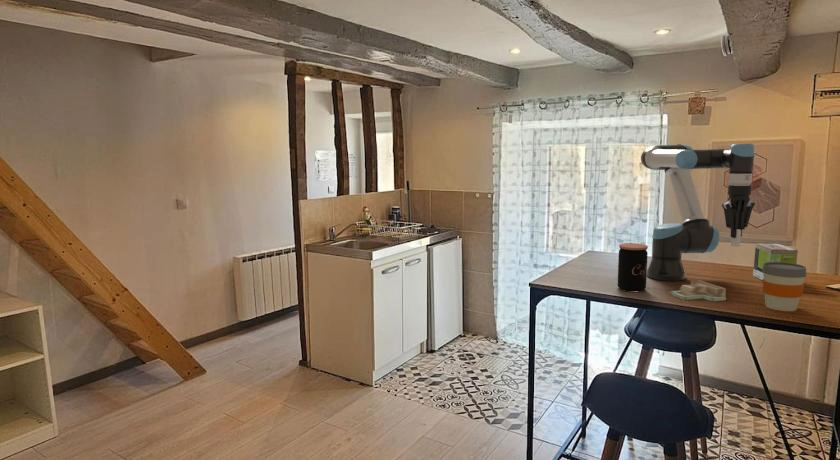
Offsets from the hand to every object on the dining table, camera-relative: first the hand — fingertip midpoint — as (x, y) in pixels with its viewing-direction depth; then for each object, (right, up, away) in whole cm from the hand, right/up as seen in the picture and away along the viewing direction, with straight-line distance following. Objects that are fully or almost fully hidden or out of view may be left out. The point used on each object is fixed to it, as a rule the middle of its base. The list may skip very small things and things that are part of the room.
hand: (735, 245), depth 196 cm
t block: (-15, -19, -1) cm, 24 cm away
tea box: (+27, -15, +19) cm, 37 cm away
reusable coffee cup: (+5, -21, -18) cm, 28 cm away
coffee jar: (-36, -18, +10) cm, 41 cm away
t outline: (-16, -19, -1) cm, 25 cm away
